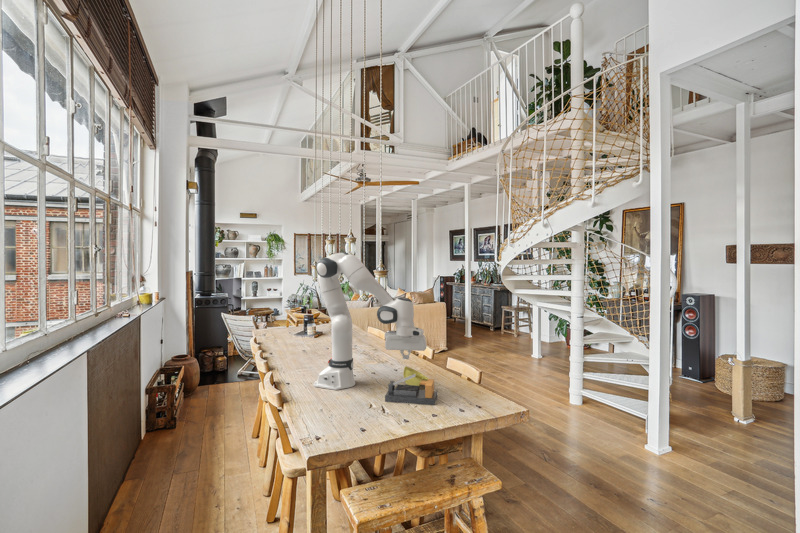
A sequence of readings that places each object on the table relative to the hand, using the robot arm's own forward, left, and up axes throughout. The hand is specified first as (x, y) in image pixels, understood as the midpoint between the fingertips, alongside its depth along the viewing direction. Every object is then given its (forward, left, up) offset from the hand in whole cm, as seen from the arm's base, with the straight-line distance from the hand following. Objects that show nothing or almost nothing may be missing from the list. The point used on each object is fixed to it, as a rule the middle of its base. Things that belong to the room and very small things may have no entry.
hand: (405, 358), depth 192 cm
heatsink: (+3, 0, -20) cm, 20 cm away
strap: (-1, 0, -11) cm, 11 cm away
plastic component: (+1, +24, -20) cm, 32 cm away
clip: (+10, 0, -17) cm, 20 cm away
